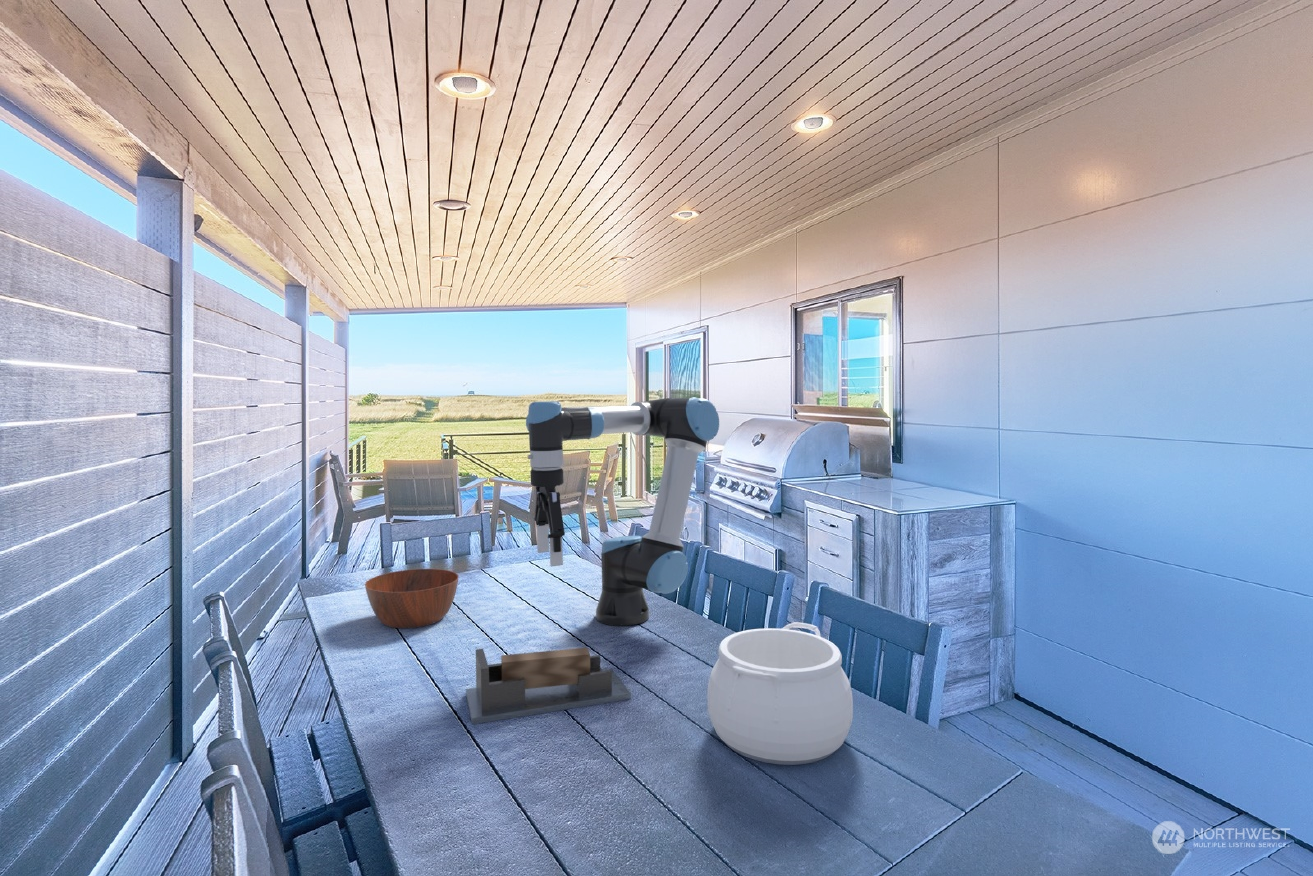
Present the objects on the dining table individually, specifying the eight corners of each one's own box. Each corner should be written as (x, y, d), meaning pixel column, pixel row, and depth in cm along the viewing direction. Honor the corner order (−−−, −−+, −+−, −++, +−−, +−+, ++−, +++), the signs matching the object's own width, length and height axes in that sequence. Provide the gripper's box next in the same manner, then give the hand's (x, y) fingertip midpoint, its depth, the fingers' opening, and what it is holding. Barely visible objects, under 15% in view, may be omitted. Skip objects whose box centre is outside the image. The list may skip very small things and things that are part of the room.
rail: (587, 674, 146) (587, 647, 146) (590, 682, 142) (590, 654, 142) (501, 683, 142) (501, 655, 141) (502, 691, 138) (501, 662, 138)
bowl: (345, 627, 186) (344, 586, 185) (410, 602, 209) (409, 565, 208) (417, 640, 176) (416, 596, 176) (477, 611, 199) (476, 573, 199)
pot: (823, 796, 107) (824, 689, 106) (677, 750, 121) (677, 655, 120) (871, 722, 131) (872, 634, 130) (745, 691, 145) (746, 611, 144)
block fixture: (611, 673, 154) (611, 630, 154) (630, 699, 141) (630, 651, 141) (466, 694, 143) (465, 648, 143) (471, 724, 130) (471, 673, 130)
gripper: (520, 463, 167) (523, 548, 169) (542, 475, 144) (545, 573, 146) (550, 461, 170) (553, 545, 171) (576, 473, 147) (579, 569, 148)
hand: (549, 558), depth 158 cm, fingers open, 13 cm apart
